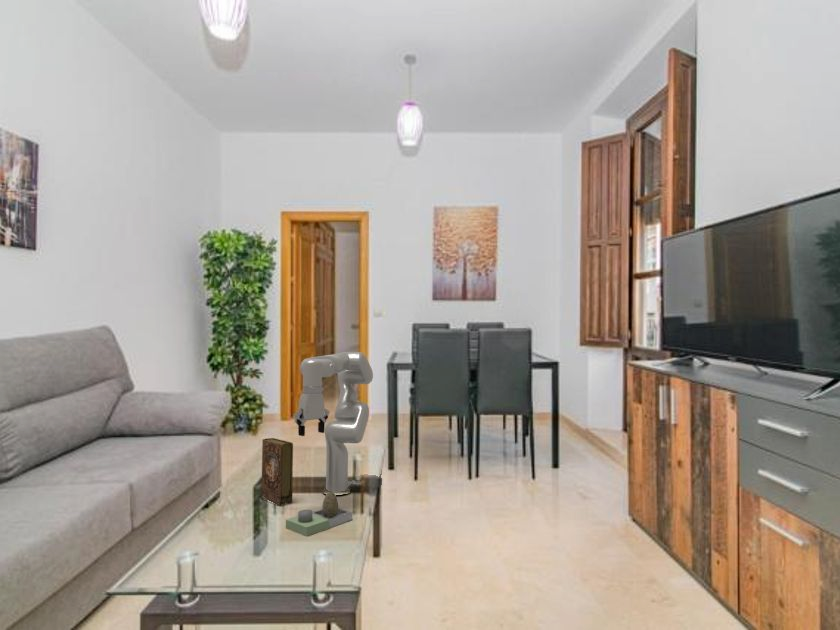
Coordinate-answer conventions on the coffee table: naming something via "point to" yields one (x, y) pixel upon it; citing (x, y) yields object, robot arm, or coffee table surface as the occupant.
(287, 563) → the coffee table surface
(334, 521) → the tray
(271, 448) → the book
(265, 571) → the coffee table surface
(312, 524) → the deck
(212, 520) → the coffee table surface
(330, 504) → the decorative egg
